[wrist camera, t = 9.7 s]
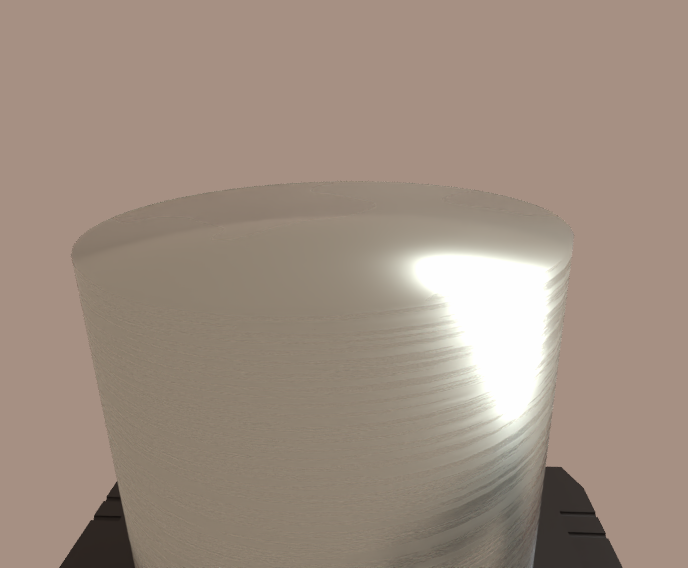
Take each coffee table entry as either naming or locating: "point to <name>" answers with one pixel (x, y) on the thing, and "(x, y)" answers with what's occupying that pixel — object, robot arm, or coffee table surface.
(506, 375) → the metal tin
